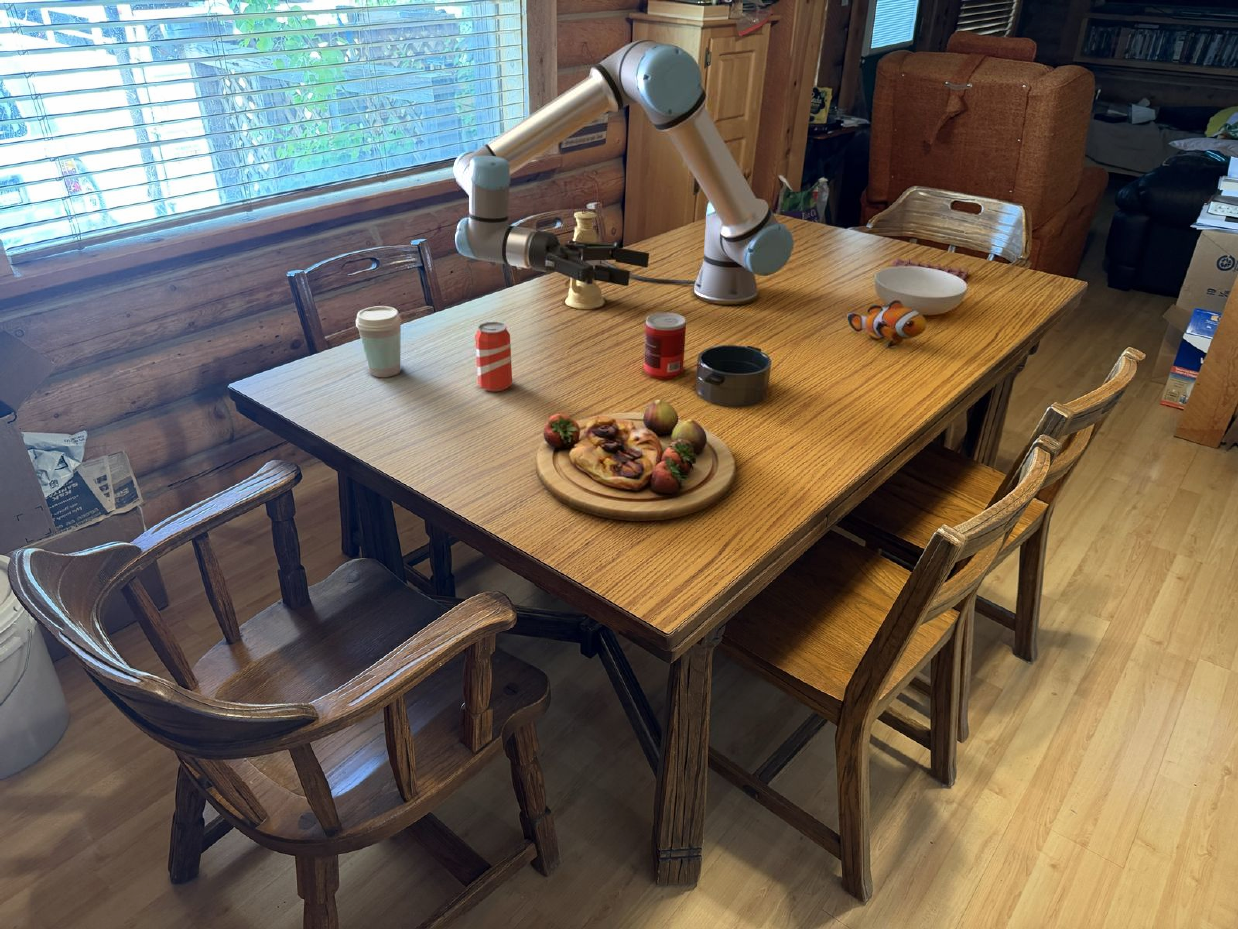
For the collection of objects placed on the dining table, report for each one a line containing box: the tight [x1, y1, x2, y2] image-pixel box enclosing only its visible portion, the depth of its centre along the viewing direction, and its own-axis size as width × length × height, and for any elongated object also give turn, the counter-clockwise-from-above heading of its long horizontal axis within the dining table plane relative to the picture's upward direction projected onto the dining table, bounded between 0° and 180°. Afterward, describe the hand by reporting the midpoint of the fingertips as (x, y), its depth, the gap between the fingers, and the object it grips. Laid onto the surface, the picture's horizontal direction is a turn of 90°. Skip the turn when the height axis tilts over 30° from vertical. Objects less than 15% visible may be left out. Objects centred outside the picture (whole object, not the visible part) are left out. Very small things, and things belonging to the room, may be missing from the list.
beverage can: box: [474, 321, 513, 393], centre depth 163 cm, size 6×6×12 cm
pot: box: [695, 344, 773, 408], centre depth 165 cm, size 14×14×6 cm
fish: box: [846, 300, 927, 349], centre depth 186 cm, size 10×18×10 cm, turn 44°
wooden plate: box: [535, 399, 737, 522], centre depth 139 cm, size 32×32×8 cm
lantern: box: [564, 170, 606, 310], centre depth 198 cm, size 12×10×30 cm
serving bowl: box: [873, 266, 969, 316], centre depth 205 cm, size 21×21×7 cm
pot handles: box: [705, 345, 762, 386], centre depth 164 cm, size 3×18×1 cm, turn 147°
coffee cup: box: [355, 305, 403, 378], centre depth 168 cm, size 8×8×12 cm
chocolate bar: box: [890, 257, 970, 281], centre depth 229 cm, size 7×19×2 cm, turn 61°
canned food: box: [643, 311, 687, 380], centre depth 171 cm, size 8×8×11 cm
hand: (638, 269), depth 165 cm, fingers open, 13 cm apart
